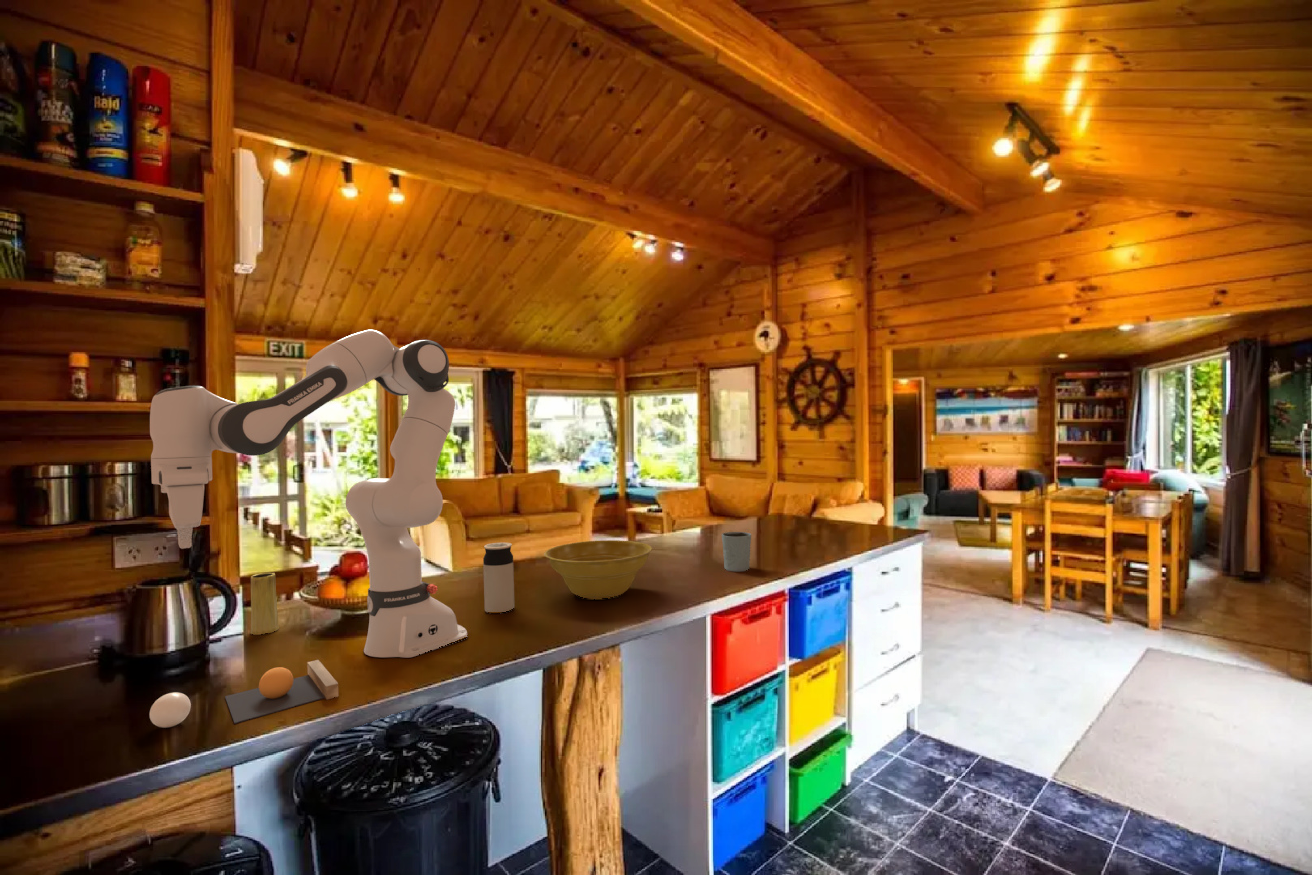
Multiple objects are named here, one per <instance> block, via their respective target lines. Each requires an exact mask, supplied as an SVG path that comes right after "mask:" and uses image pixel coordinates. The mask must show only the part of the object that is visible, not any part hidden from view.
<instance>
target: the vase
mask: <svg viewBox="0 0 1312 875" xmlns="http://www.w3.org/2000/svg"><path fill="white" fill-rule="evenodd" d="M276 591H277V589H276V574H275V572H263V573H257V574H254V575H251V576H250V608H251V611H250V612H251V613H250V614H251V616H250V617H251V618H250V635H252V634H253V636H261V634H263V635H266V634H265V633H268V634H272V633H274V631H275V632H277V631H278V630H279V629H280V626H279V615H278V612H279V611H278V601H277V592H276Z"/></svg>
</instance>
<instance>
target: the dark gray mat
mask: <svg viewBox="0 0 1312 875" xmlns="http://www.w3.org/2000/svg"><path fill="white" fill-rule="evenodd" d="M224 699H225V701H226V704H227V707H228V710H229V712H230V715H231V718H232V720H233V724H234V725H236V724H238V723H243V722H246V721H250V720H253V719H257V718H260V717H263V716H267V715H270V714H273V713H277V712H281V711H285V710H288V709H291V708H294V707H295V706H296V707H298V706H302V705H303V706H304V705H305V704H309V703H312V702H317V701H321V700H323V699H326V698H325V696H324V695H323V693H322V692H321V691H320V689H319V688H318V687H317V685H316V684H315V682H314V681H313V680H312V678H311V677H310V676H309V675H308V674H307V675H304V676H298V677H295V678H294V677H293V685H292V687H291V689H290V690H289V691H288V692H287V693H286V694H285V695H283V696H282V697H279V698H275V699H270V698H266V697H265V696H263V695H262V694H261V692H260V690H259V687H256V688H252V689H249V690H248V689H247V690H245V691H240V692H236V693H233V694H229V695H225V696H224ZM249 719H250V720H249Z"/></svg>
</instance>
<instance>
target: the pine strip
mask: <svg viewBox="0 0 1312 875" xmlns="http://www.w3.org/2000/svg"><path fill="white" fill-rule="evenodd" d="M306 665H307V667H306V668H307V675H309V676H310V677H311V678H312V680H313V681H314V682H315V684H316V685H317V687H318V688H319V689H320V691H321V692H322V693H323V695H324V696H325V698H324V699H325V700H326V701H327V700H330V699H333V698H334V697H335V698H338V697H339V682H338V681H337V680H336V679H335V678H334V677H333V676H332V674H331V673H330V672H329V671H328V669H327V668H326V667H325V666H324V664H323V663H322V662H321V661H320V660H319V659H316V660H312V661H307V663H306Z"/></svg>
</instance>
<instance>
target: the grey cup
mask: <svg viewBox="0 0 1312 875" xmlns="http://www.w3.org/2000/svg"><path fill="white" fill-rule="evenodd" d="M721 541H722V551H723V553H722V554H723V562H724V563H723V564H724V565H723V566H724V570H725V569H726V570H725V571H728V572H735V573H737V572H738V573H739V572H747V571H749V570H750V561H751V559H750V558H751V543H752V533H750V532H743V531H731V532H730V531H729V532H723V533H722V534H721ZM748 569H749V570H748ZM746 570H747V571H746Z"/></svg>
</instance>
